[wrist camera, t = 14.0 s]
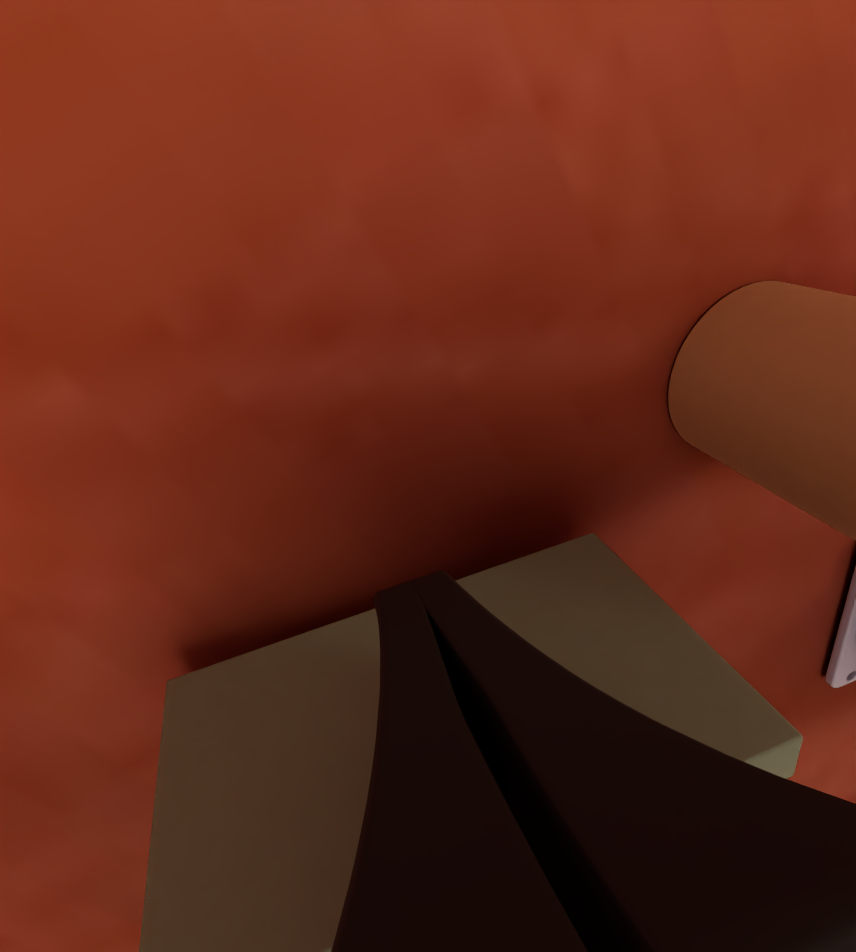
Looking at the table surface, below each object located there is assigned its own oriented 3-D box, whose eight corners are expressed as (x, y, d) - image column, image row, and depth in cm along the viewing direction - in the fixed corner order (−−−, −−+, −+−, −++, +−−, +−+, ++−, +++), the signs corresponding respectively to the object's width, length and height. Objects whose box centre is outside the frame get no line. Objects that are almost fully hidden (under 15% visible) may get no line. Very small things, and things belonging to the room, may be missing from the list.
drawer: (144, 643, 13) (86, 1011, 7) (592, 494, 15) (818, 690, 9) (307, 922, 20) (342, 1224, 14) (599, 793, 22) (732, 1011, 16)
